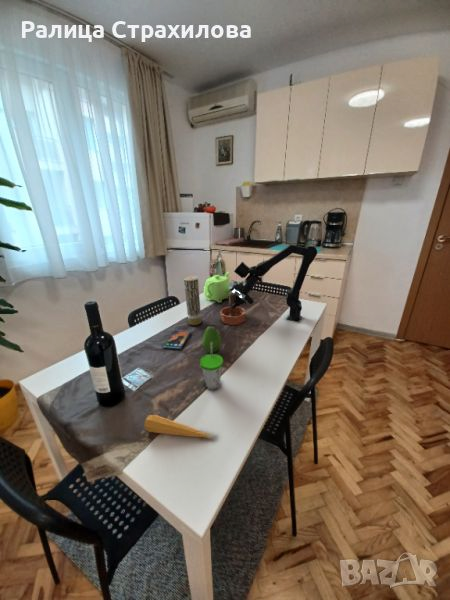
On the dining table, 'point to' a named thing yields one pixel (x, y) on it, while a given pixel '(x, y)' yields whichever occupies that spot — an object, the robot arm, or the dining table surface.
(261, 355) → the dining table surface
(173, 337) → the smartphone
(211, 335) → the avocado
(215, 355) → the cup
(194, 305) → the wooden log
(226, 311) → the bowl
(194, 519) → the dining table surface
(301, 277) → the robot arm
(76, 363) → the dining table surface
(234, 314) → the stirring stick
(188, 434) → the carrot
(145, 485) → the dining table surface
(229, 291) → the teapot
